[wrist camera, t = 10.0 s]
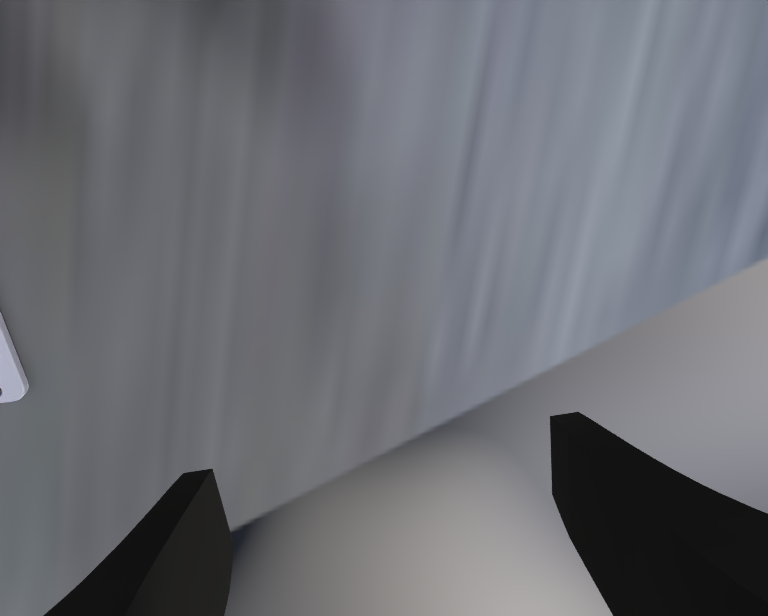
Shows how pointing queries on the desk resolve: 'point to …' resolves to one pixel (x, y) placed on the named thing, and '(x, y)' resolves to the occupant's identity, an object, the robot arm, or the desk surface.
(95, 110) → the desk surface
